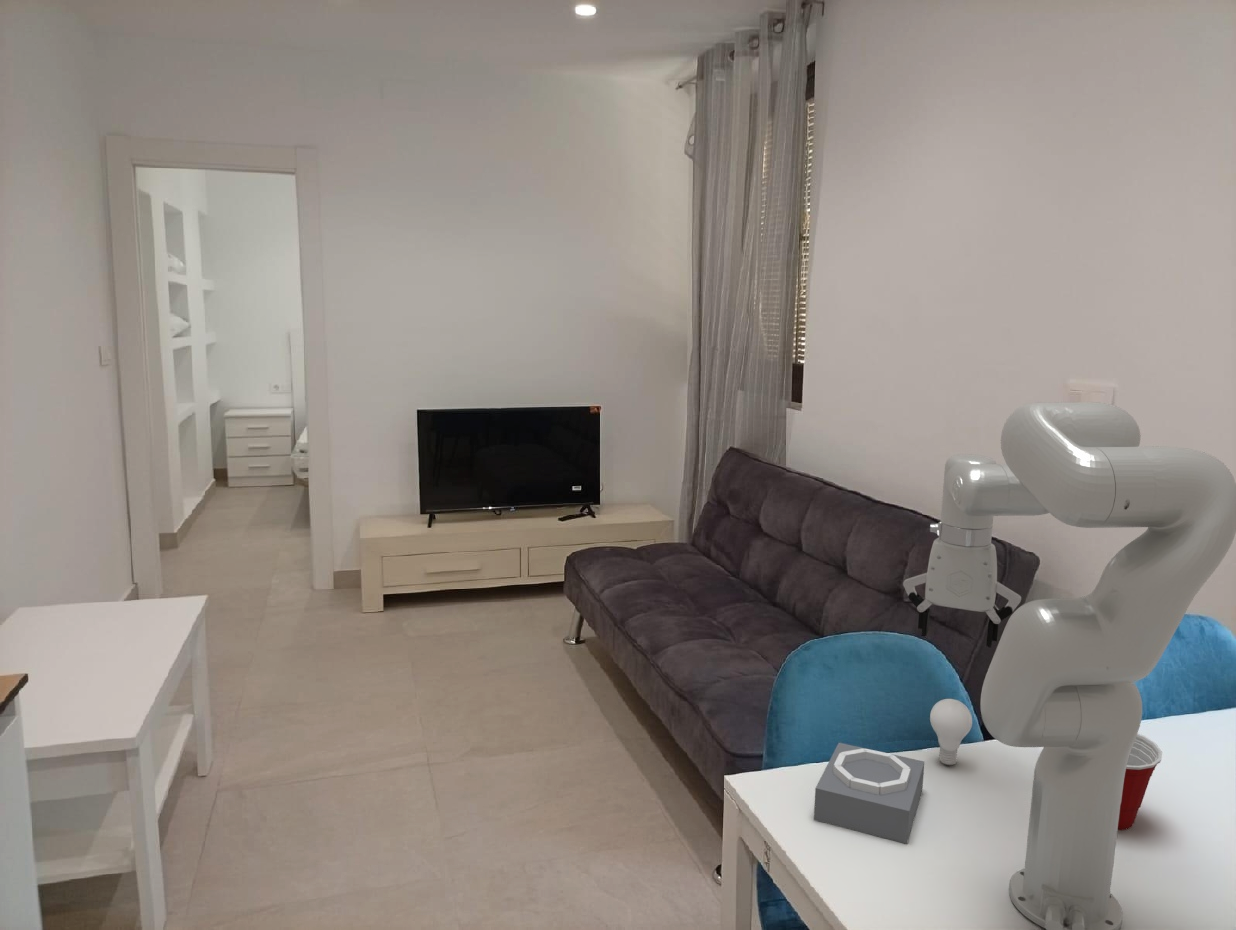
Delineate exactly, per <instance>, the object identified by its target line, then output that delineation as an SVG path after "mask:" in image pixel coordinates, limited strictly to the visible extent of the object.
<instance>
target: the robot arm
mask: <svg viewBox="0 0 1236 930" xmlns="http://www.w3.org/2000/svg"><path fill="white" fill-rule="evenodd" d="M1140 430H1141V429H1140V427H1139V424H1138V422H1137V421H1136V419H1134V417H1133V416H1132V415H1131V414H1130V413H1129V412H1128V411H1126V410H1125V409H1123V408H1121V407H1119V406H1117V405H1113V404H1110V403H1106V402H1094V401H1084V402H1083V401H1081V402H1080V401H1077V402H1075V401H1074V402H1071V401H1070V402H1069V401H1068V402H1066V401H1063V402H1062V401H1061V402H1058V401H1057V402H1056V401H1054V402H1053V401H1052V402H1050V401H1049V402H1047V401H1045V402H1041V401H1040V402H1039V401H1038V402H1030V403H1027V404H1023V405H1022V406H1019V407H1018V408H1016V409H1015V410H1014V411H1013V412H1012V413H1011V414H1010V415H1009V416H1008V418H1006V421H1005V422H1004V424H1003V427H1002V431H1001V435H1000V449H1001V454H1002V458H1003V460H1004V462H1005V463H997V462H996V461H995V459H994V458H991V457H988V456H986V455H980V454H972V453H971V454H968V453H965V454H964V453H962V454H961V453H960V454H954V455H951V456H950V457H948V458H947V459H946V461H945V464H944V472H943V473H944V474H943V484H942V485H943V486H942V497H941V499H942V501H941V511H940V512H941V513H940V521H938V523H937V522H936V523H930V526H929V527H930V528H929V532H930V533H934V534H937V536H938V537H937V538H935V539H934V540H933V543H932V546H931V549H930V554H929V557H928V558H929V559H928V565H927V571H926V572H925V573H921V574H918V575H915V576H912V577H908V578H906V579H905V580H904V581H903V582H902V585H903V587H904V590H905V592H906V594H907V596H908V599H909V601H910V602H911V603H912V604H913V605H914V606H915V608H916V610H917V611H918V623H917V628H918V630H921V635H920V636H921V637H927V636H928V634H929V630H930V629H929V628H930V615H931V608H930V607H931V606H932V605H935V606H940V607H946V608H952V609H960V610H965V611H972V612H981V613H986V615H987V616H988V618H989V620H988V623H987V624H988V625H987V634H986V647H987V648H992V646H993V645H992V644H993V642H997V641H998V636H999V627H1000V623H1001V622H1002V621H1004V619H1006V618H1008V617H1009V616H1010V617H1009V619H1008V620H1007V623H1006V624H1005V627H1004V630H1003V632H1002V634H1001V636H1000V638H999V639H1000V640H999V641H998V644H997V646H996V649H995V651H994V654H993V657H992V659H991V662H990V664H989V667H988V669H987V672H986V674H985V678H984V680H983V682H982V683H983V684H982V687H981V694H980V712H981V713H980V714H981V719H982V722H983V725H984V727H985V728H986V730H987V731H988V733H989V735H991V737H993V738H994V739H995V740H996V741H998V742H1000V743H1001V744H1003V745H1007V746H1009V747H1015V748H1042V750H1041V751H1040V752H1039V754H1038V755H1039V756H1038V757H1037V760H1036V763H1035V768H1034V770H1033V771H1034V772H1033V780H1032V790H1031V799H1030V809H1029V810H1030V811H1029V822H1028V829H1027V842H1026V849H1025V850H1026V851H1025V861H1024V868H1022V869H1019V870H1017V871H1016V872H1015V873H1014V874H1013V875H1012V876H1011V878H1010V880H1009V887H1008V892H1009V893H1008V895H1009V897H1010V900H1011V902H1012V903H1013V905H1014V906H1015V907H1016V909H1017V910H1018V911H1019V912H1020V913H1021V914H1022V915H1024V917H1026V918H1028V919H1029V920H1030V921H1032V922H1033V923H1034V924H1036V925H1038V926H1039V927H1041V928H1043V929H1045V930H1120V929H1121V927H1122V924H1123V911H1122V910H1123V909H1122V907H1121V905H1120V903H1119V901H1118V900H1117V899H1116V897H1115V896H1114V895H1113V894H1112V893H1111V889H1112V888H1111V887H1112V880H1113V879H1112V878H1113V872H1114V860H1115V855H1116V854H1115V853H1116V844H1117V838H1118V837H1117V836H1118V821H1119V813H1120V804H1121V800H1122V791H1123V784H1124V777H1125V771H1126V766H1127V762H1128V758H1129V755H1130V752H1131V749H1132V746H1133V744H1134V741H1135V738H1136V736H1137V733H1138V734H1139V729H1140V727H1141V723H1142V717H1143V702H1142V701H1143V700H1142V696H1141V693H1140V691H1139V688H1138V687H1137V685H1136V683H1135V682H1138V681H1141V680H1143V679H1145V678H1146V677H1147V676H1148V675H1150V674H1151V672H1152V671H1153V670H1154V669H1155V667H1156V666H1157V664H1159V661H1160V659H1161V657H1162V656H1163V654H1164V653H1165V650H1166V649H1167V647H1168V645H1169V644H1170V642H1171V640H1172V638H1173V636H1174V634H1175V633H1176V632H1177V629H1178V627H1179V625H1180V624H1181V622H1182V620H1183V618H1184V617H1185V614H1186V612H1187V611H1188V608H1189V606H1190V605H1191V604H1192V601H1193V600H1194V598H1195V597H1196V596H1197V594H1198V593H1199V591H1200V590H1201V588H1202V587H1203V586H1204V584H1205V583H1206V582H1207V581H1208V580H1209V578H1210V577H1211V576H1213V575H1212V574H1213V573H1215V572H1216V570H1217V568H1218V567H1219V566H1220V565H1221V563H1222V561H1223V560H1224V559H1225V557H1226V555H1227V553H1228V552H1229V550H1230V548H1231V546H1232V544H1233V541H1234V539H1235V537H1236V480H1235V477H1234V476H1233V474H1232V471H1230V469H1229V468H1228V466H1227V465H1225V463H1224V462H1222V461H1221V460H1220V459H1218V458H1217V457H1216V456H1213V455H1211V454H1209V453H1207V452H1205V451H1201V450H1197V449H1193V448H1185V447H1177V446H1176V447H1175V446H1140V444H1141V435H1142V434H1141V431H1140ZM1047 514H1050V515H1051V516H1053V518H1055V519H1056V520H1058V521H1060V522H1061V523H1063V524H1065V525H1068V526H1071V527H1077V528H1083V529H1084V528H1085V529H1087V528H1088V529H1092V528H1093V529H1095V528H1096V529H1097V528H1098V529H1101V528H1102V529H1103V528H1104V529H1106V528H1107V529H1108V528H1110V529H1111V528H1112V529H1113V528H1117V529H1118V528H1119V529H1120V528H1147V529H1146V530H1145V531H1144V532H1142V534H1141V535H1139V536H1137V537H1135V539H1133V540H1132V541H1130V542H1129V543H1128V544H1126V545H1125V546H1124V547H1122V548H1121V549H1120V550H1119V551H1117V553H1116V554H1115V555H1114V556H1113V557H1112V558H1111V559H1110V560H1109V561H1108V563H1107V564H1106V565H1105V566H1104V569H1103V571H1102V574H1101V575H1100V578H1099V580H1098V582H1097V584H1096V585H1095V587H1094V589H1093V590H1092V592H1090V593H1089V594H1087V595H1084V596H1081V597H1073V598H1068V597H1067V598H1042V599H1035V600H1031V601H1028V602H1026V603H1023V604H1022V605H1020V603H1021V601H1022V596H1021V595H1020V594H1019V593H1017V592H1015V591H1013V590H1012V589H1010V588H1009V587H1007V586H1005V585H1004V584H1002V583H1001V582H999V581H998V560H997V558H998V557H997V551H996V550H997V549H996V546H995V544H993V543H992V537H993V526H994V525H993V524H994V517H1000V516H1002V517H1006V516H1008V517H1010V516H1011V517H1012V516H1013V517H1014V516H1020V517H1021V516H1026V517H1028V516H1029V517H1030V516H1032V517H1033V516H1034V517H1035V516H1043V515H1047ZM923 584H925V588H924V589H925V590H924V597H923V598H922V596H921V595H920V594H919V593H918V592H917V591H916V586H917V587H918V586H919V585H923ZM997 594H999V595H1000V596H1001V597H1003V598H1005V599H1006V600H1008V602H1007V603H1006V604H1005V605H1003V607H1002V606H1001V608H999V607H998V606H997V605H996V604H995V602H996V597H997ZM1019 605H1020V606H1019ZM1018 606H1019V607H1018ZM1017 607H1018V608H1017Z"/></svg>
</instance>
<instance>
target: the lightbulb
mask: <svg viewBox="0 0 1236 930" xmlns="http://www.w3.org/2000/svg"><path fill="white" fill-rule="evenodd" d="M929 715H930V717H929V720H930V725H931V727H932V729H933V731H934V732H935V734H936V736H937V740H938V745H939V757H938V760H939V761H940V762H941V763H942V764H944V765H946V766H952V765H955V764H957V760H958V759H957V758H958V749H959V748H960V745H961V742H962V740H963V739H964V738H965V737H966V736H967V735H968V734H969V733H970V731H971V729H972V726H973V716H972V713H971V711H970V709H969V708H968V707H967V705H965V703H963V702H961V701H960V700H958V699H954V698H945V699H941V700H939V701H937V702H936V703H935V704H933V706H932V708H931V711H930V713H929Z"/></svg>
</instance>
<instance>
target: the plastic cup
mask: <svg viewBox="0 0 1236 930" xmlns="http://www.w3.org/2000/svg"><path fill="white" fill-rule="evenodd" d="M1162 758H1163V751H1162V749H1161V748H1160V746H1159V745H1158V744H1157V743H1155V742H1154V741H1153V740H1151V739H1150V738H1148V737H1147V736H1145V735H1142V734H1140V733H1139V732H1138V733H1137V736H1136V738H1135V741H1134V744H1133V746H1132V749H1131V752H1130V755H1129V758H1128V762H1127V766H1126V771H1125V777H1124V784H1123V791H1122V800H1121V804H1120V813H1119V821H1118V830H1119V831H1124V830H1129V829H1131V828H1132V827H1133V825H1134V824H1135V822H1136V818H1137V816H1138V812H1139V810H1140V808H1141V807H1142V803H1143V800H1144V798H1145V794H1146V793H1147V792H1146V791H1147V789H1148V785H1149V782H1150V779H1151V777H1152V776H1153V773H1154V771H1155V769H1156V767H1157V765H1159V764H1160V763H1161V761H1162ZM1118 830H1117V831H1118Z"/></svg>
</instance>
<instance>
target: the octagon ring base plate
mask: <svg viewBox="0 0 1236 930" xmlns="http://www.w3.org/2000/svg"><path fill="white" fill-rule="evenodd" d="M924 771H925V760H920V759H915V758H910V757H906V756H902V755H897V754H892V753H888V752H884V751H878V750H875V749H874V750H873V749H870V748H865V747H861V746H855V745H851V744H848V743H842V742H838V744H837V745H836V747H835V749H834V751H833V753H832V755H831V757H830V759H829V761H828V763H827V765H826V766H825V769H824V771H823V772H822V775H821V777H820V779H819V780H818V782H817V784H816V787H814V788H815V789H814V791H815V793H814V812H813V820H814V821H817V822H821V823H825V824H829V825H832V826H837V827H839V828H844V829H848V830H851V831H856V832H860V833H863V834H867V835H872V836H875V837H879V838H882V839H886V840H890V841H894V842H898V843H902V844H906V845H908V841H909V839H910V834H911V831H912V828H913V825H914V822H915V818H916V814H917V810H918V807H919V805H920V801H921V798H920V797H922V793H923V786H924V785H923V784H924V774H925V772H924ZM913 821H914V822H913Z"/></svg>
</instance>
